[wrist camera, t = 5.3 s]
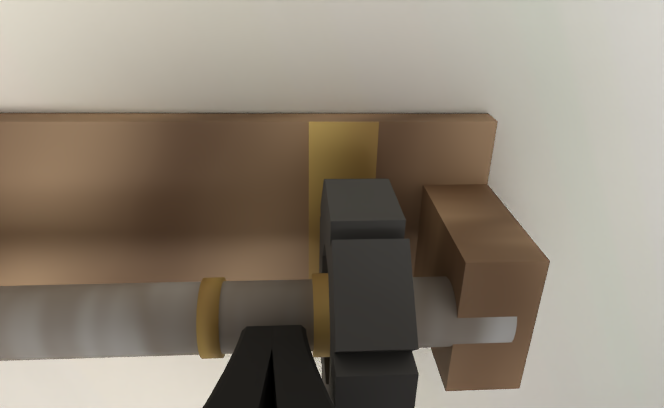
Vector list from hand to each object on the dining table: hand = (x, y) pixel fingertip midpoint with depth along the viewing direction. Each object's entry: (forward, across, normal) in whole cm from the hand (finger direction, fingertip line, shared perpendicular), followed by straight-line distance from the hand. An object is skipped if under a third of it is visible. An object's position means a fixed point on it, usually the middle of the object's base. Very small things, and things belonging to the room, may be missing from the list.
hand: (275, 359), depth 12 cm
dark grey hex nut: (+5, -2, 0) cm, 5 cm away
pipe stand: (+6, +3, 0) cm, 7 cm away
